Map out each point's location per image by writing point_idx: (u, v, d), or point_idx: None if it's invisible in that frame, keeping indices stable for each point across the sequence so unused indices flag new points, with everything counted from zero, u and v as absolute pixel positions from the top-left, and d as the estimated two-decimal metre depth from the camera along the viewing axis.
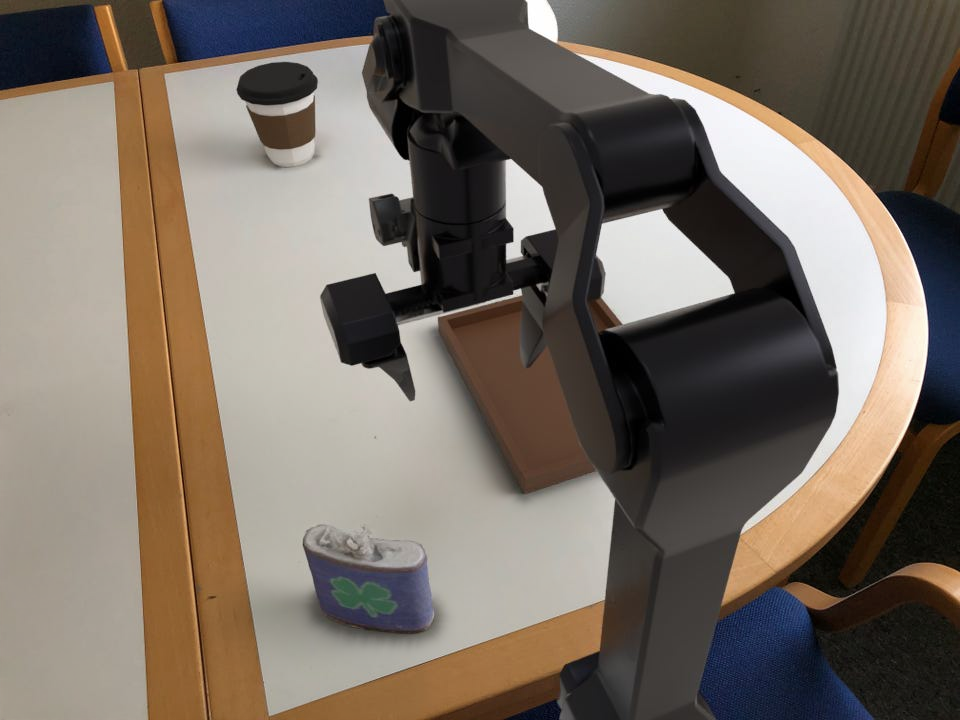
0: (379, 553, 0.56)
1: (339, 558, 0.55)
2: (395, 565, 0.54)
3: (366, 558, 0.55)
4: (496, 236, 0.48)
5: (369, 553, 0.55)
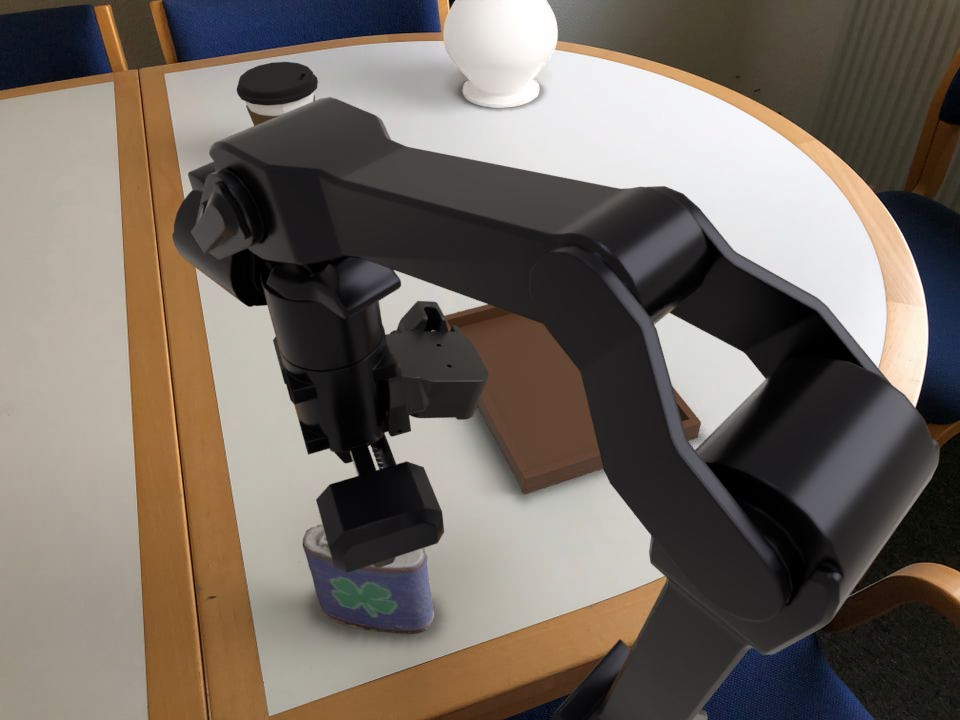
0: None
1: None
2: (395, 565, 0.54)
3: None
4: None
5: None
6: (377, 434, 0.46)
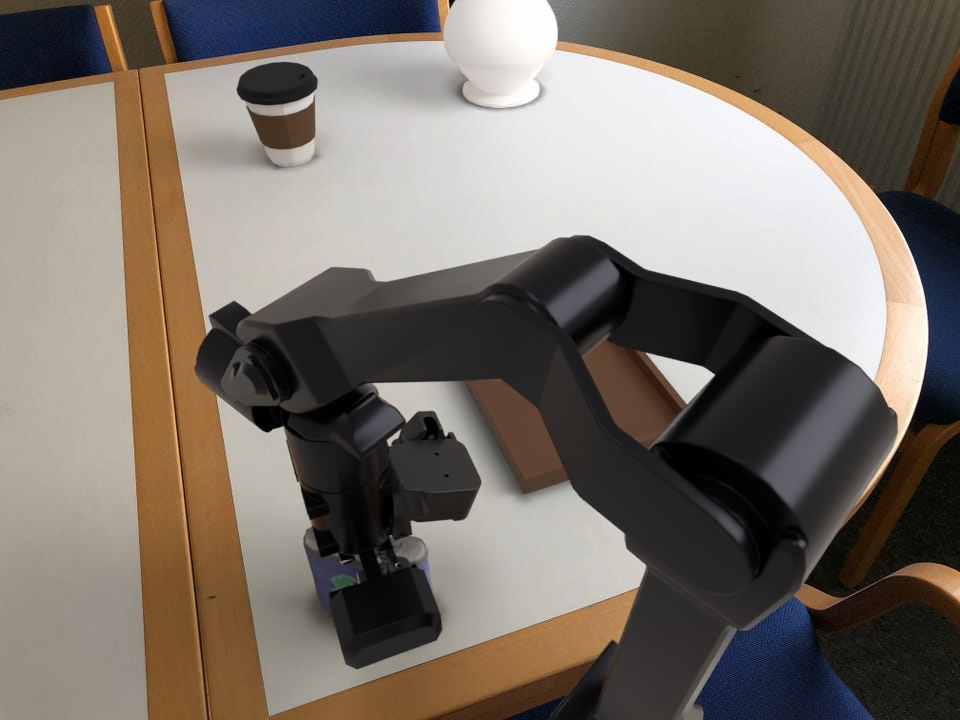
0: None
1: None
2: None
3: None
4: (303, 499, 0.48)
5: None
6: (382, 538, 0.51)
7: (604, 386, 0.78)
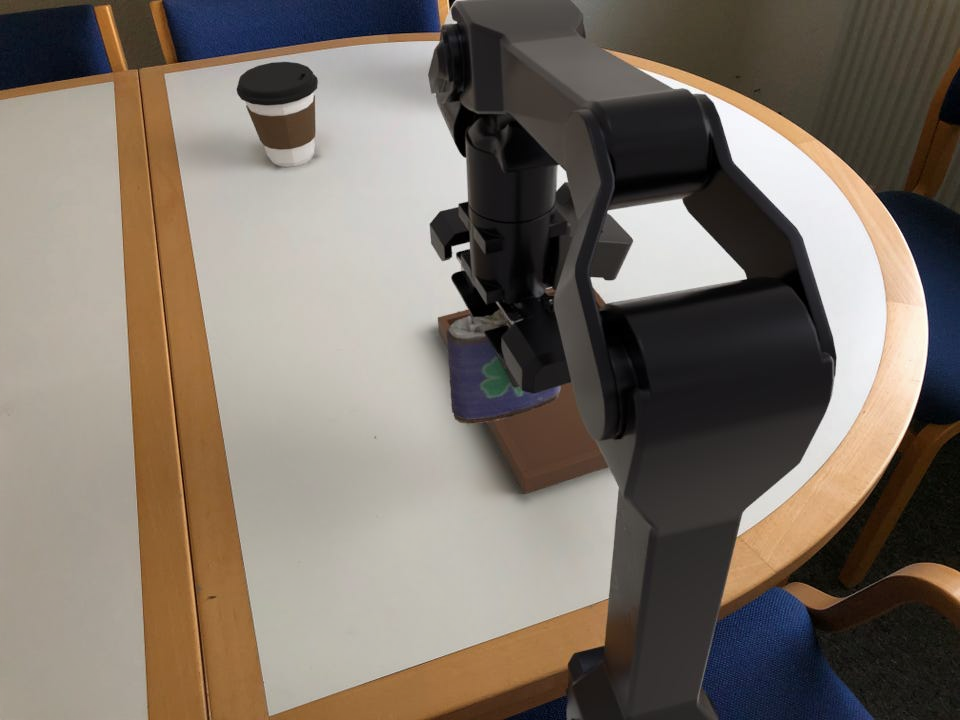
0: None
1: None
2: None
3: None
4: (478, 236, 0.51)
5: None
6: (543, 288, 0.54)
7: None
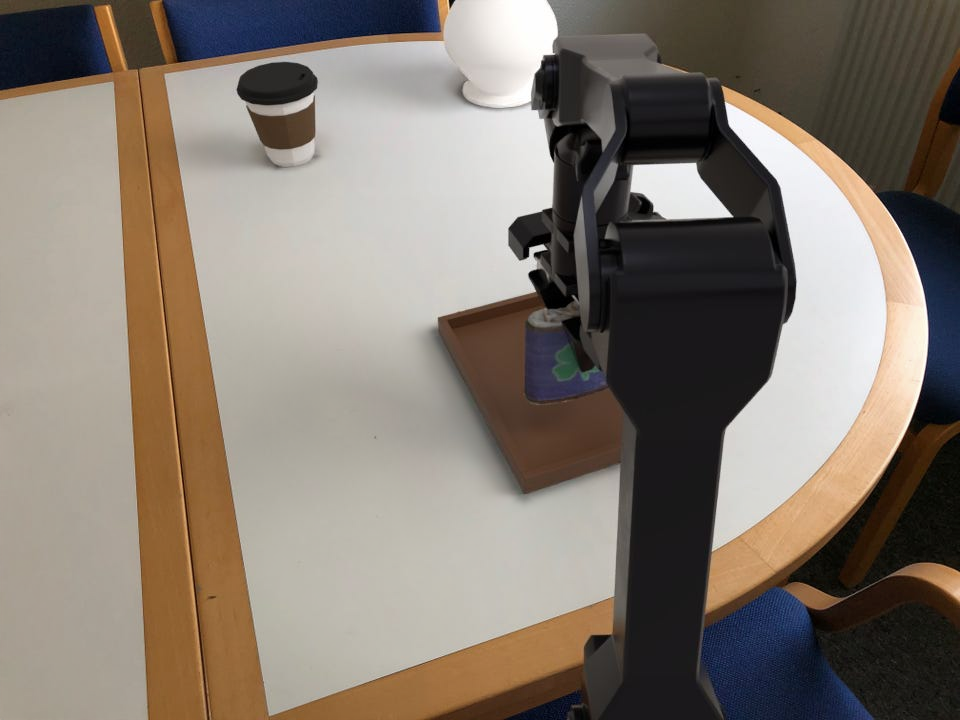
0: None
1: None
2: None
3: None
4: (562, 237, 0.59)
5: None
6: None
7: None
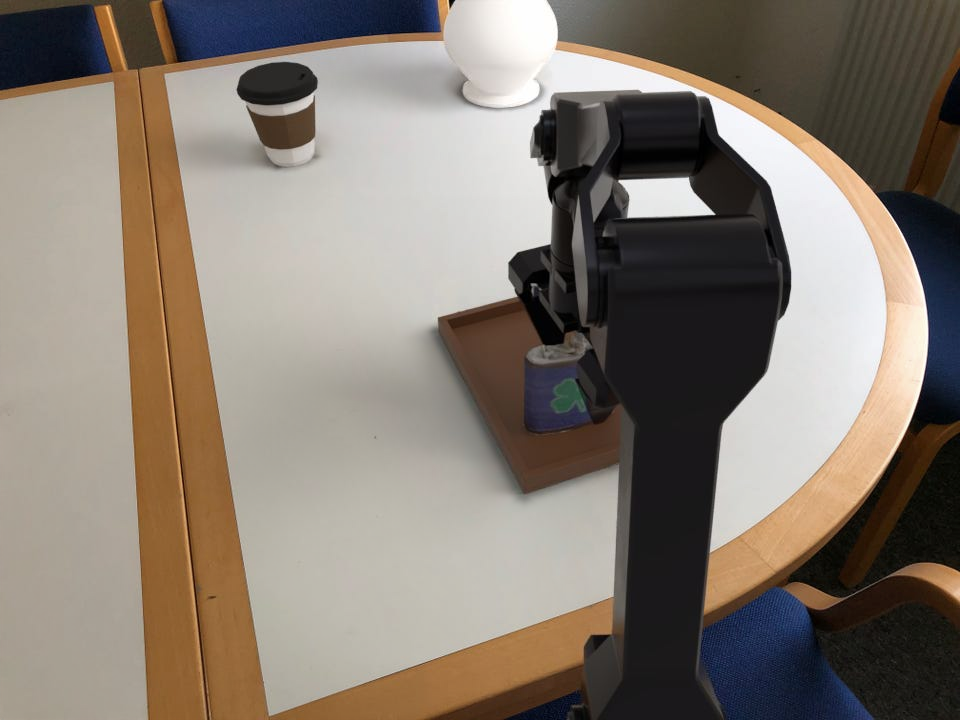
0: (586, 350, 0.70)
1: (567, 360, 0.68)
2: None
3: (584, 353, 0.69)
4: (560, 278, 0.62)
5: (584, 349, 0.69)
6: None
7: None
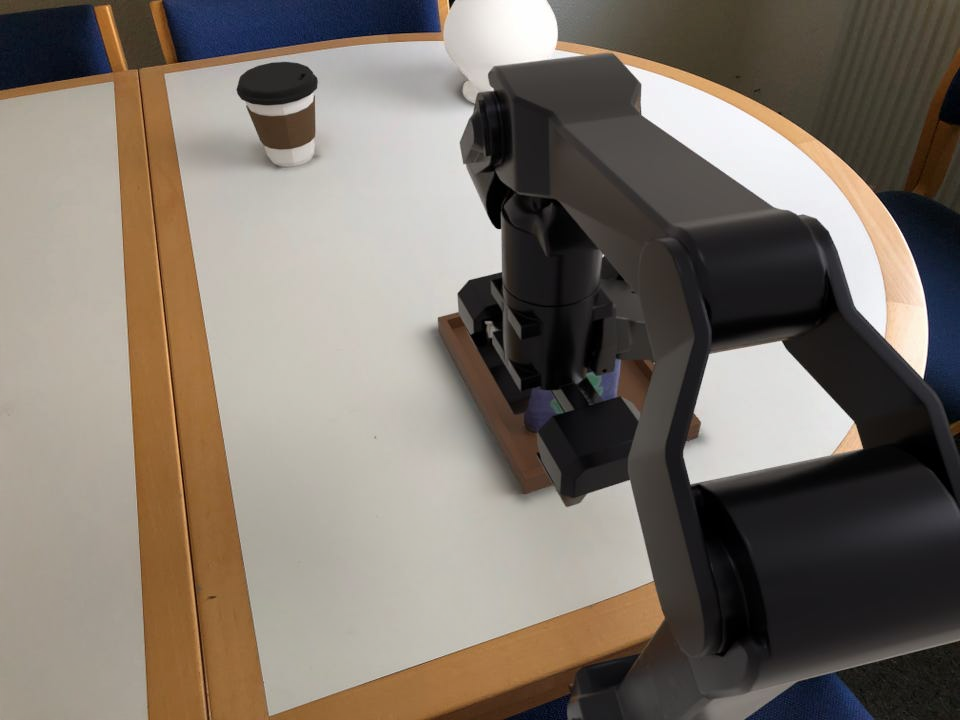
0: None
1: None
2: None
3: None
4: (513, 318, 0.45)
5: None
6: (583, 373, 0.48)
7: None
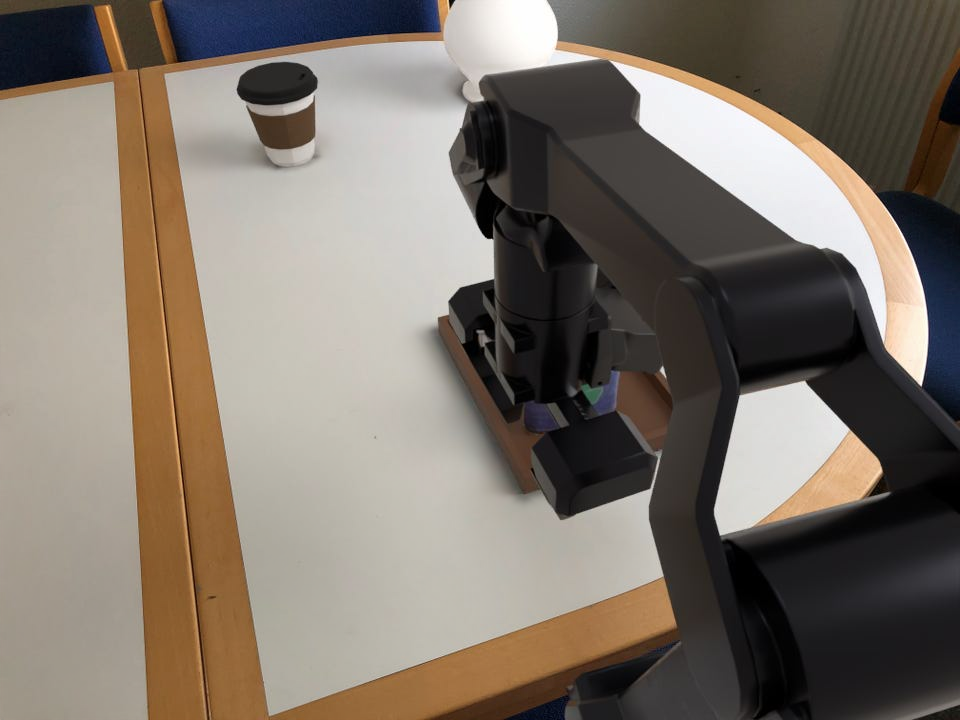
0: None
1: None
2: None
3: None
4: (506, 332, 0.44)
5: None
6: (578, 386, 0.47)
7: None
